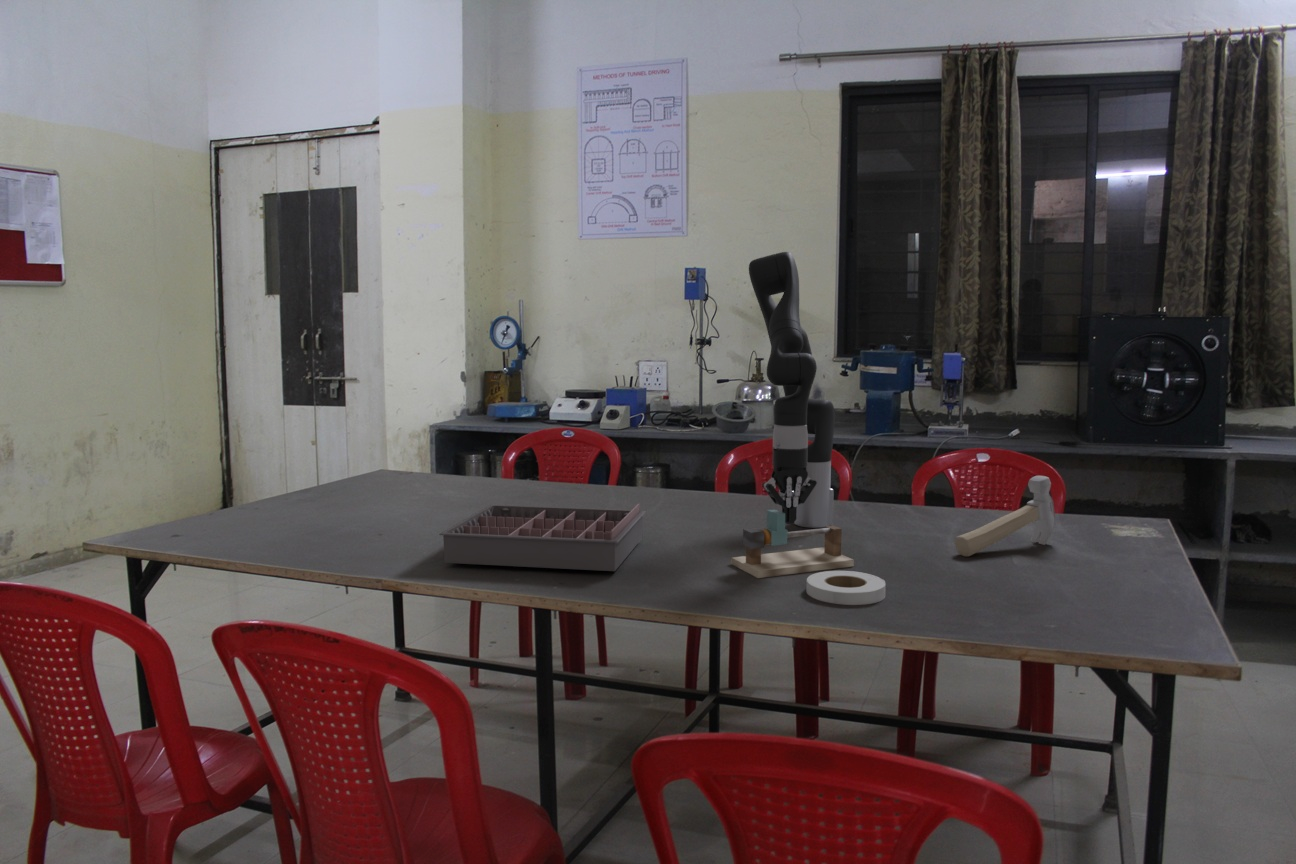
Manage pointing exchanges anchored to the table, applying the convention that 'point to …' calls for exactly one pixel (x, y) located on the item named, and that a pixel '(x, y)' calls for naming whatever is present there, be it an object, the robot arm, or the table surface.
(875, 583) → the roll of tape
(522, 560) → the organizer tray
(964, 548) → the hammer
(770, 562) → the cable board
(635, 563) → the table surface
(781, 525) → the teal stepped block
